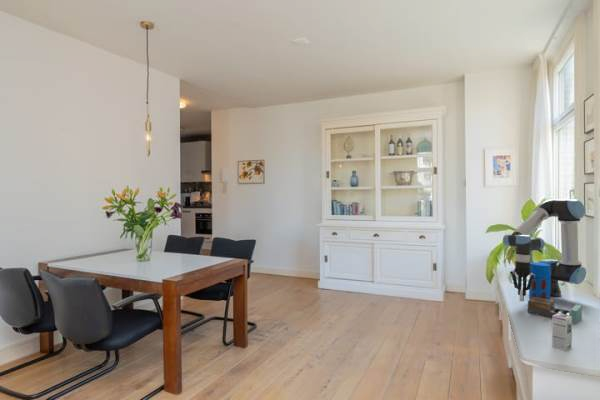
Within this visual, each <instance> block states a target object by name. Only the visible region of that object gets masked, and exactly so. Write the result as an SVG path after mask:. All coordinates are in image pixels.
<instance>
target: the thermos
mask: <svg viewBox="0 0 600 400" xmlns="http://www.w3.org/2000/svg"><path fill="white" fill-rule="evenodd" d="M530 271H531V273H532V274H535V277H534V278H533V280H532V284H531V287H530V289H529V290H528V292H529V293H528V297H529V298H528V300H530V299H531V298H533V297H539V298H544V299H549V300H551V296H550V283H551V265H550V264H546V263H538V261H537V262H530Z"/></svg>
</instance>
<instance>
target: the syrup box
mask: <svg viewBox="0 0 600 400" xmlns="http://www.w3.org/2000/svg"><path fill="white" fill-rule="evenodd" d="M551 319H552V326H551V327H552V328H551V329H552V334H551V335H552V336H551V337H552V339H551V342H552V343H551V346H552V347H553V348H555V349H558V350H561V351H566V352H568V351H569V350H571V349H572V343H573V342H572V338H573V337H572V335H573V332H572V330H573V328H572V326H573V325H572V324H573V323H572V316H569V315H566V314H561V313H557V314H555V315H553V316H552V318H551Z"/></svg>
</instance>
